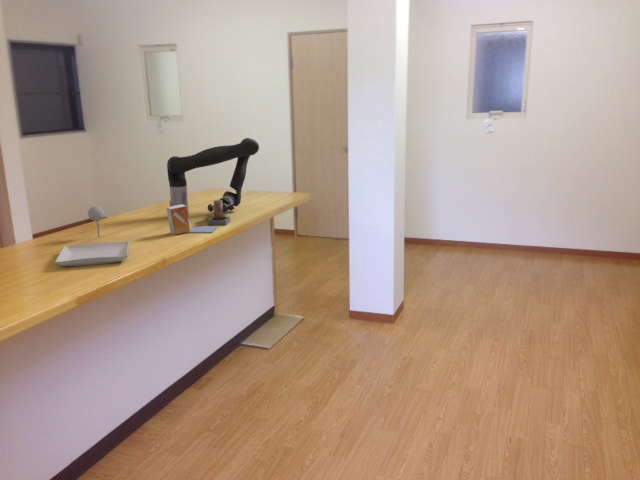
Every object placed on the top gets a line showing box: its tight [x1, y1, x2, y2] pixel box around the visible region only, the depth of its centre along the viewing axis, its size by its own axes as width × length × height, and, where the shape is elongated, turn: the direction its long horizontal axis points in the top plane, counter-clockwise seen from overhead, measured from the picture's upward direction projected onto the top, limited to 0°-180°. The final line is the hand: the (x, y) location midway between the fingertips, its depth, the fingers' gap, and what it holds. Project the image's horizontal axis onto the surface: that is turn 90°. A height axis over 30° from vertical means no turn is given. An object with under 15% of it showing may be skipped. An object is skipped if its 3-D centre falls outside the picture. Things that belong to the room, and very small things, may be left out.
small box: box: [166, 204, 191, 236], centre depth 273 cm, size 8×6×13 cm
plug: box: [213, 199, 224, 220], centre depth 293 cm, size 5×5×12 cm
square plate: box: [54, 240, 131, 267], centre depth 233 cm, size 27×27×4 cm
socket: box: [207, 216, 231, 226], centre depth 295 cm, size 9×9×2 cm
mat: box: [187, 225, 219, 234], centre depth 280 cm, size 12×12×1 cm
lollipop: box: [87, 205, 105, 238], centre depth 267 cm, size 7×7×15 cm
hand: (217, 210), depth 291 cm, fingers open, 6 cm apart
